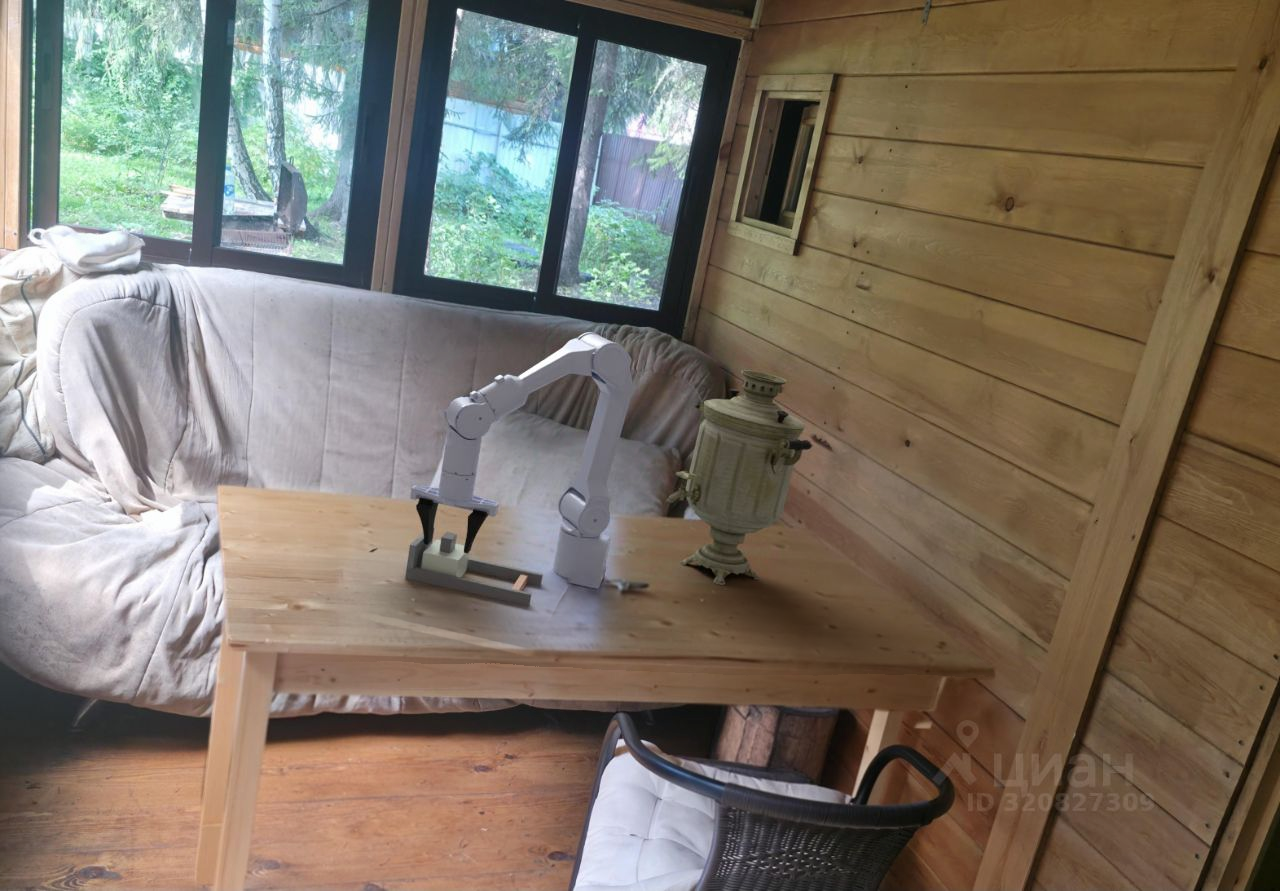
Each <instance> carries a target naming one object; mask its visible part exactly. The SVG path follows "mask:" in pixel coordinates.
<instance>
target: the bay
mask: <svg viewBox="0 0 1280 891" xmlns="http://www.w3.org/2000/svg"><path fill="white" fill-rule="evenodd" d="M434 534H435V529H434V530H433V537H432V541H431V542H430V543H429V544H428V545H426V544H424V533H423V532H422V533H421V534H420V535H419V536H417V537H416V538H415V539H414V540H413V541H412V542H411V543H410V544H409V549H408V556H407V562H406V570H405V576H404V579H406V580H410V581H416V582H420V583H425V584H430V585H433V586H437V587H442V588H446V589H451V590H456V591H460V592H465V593H468V594H473V595H479V596H482V597H487V598H493V599H497V600H502V601H505V602H510V603H515V604H519V605H523V606H528V607H529V606H530V605H531V600H532V599H531V598H532V593H533V592H528V591H524V590H523V589H524V588H525V586H526V585H527V584H530V585H535V586H538V587H541V585H542V583H543V582H542V581H543V576H544V573H541V572H536V571H531V570H528V569H527V570H526V569H523V568H522V569H521V568H517V567H513V566H508V565H503V564H499V563H495V562H490V561H486V560H481V559H477V558H472V557H468V563H467V570H466V571H470V572H475V573H479V574H485V575H488V576H489V575H490V576H494V577H497V578H501V579H507V580H512V581H515V583H514V585H513V586H512V587H511V588H510V587H506V586H502V585H496V584H493V583H487V582H483V581H479V580H475V579H470V578H466V577H457V576H452V575H448V574H443V573H438V572H434V571H429V570H425V569H421V566H422V559H423V552H424V551H425V550H426V549H427V548H428V547H429V546H430V545H431V544H432V543H433V542H434V541H433V539H434Z"/></svg>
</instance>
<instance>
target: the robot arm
mask: <svg viewBox="0 0 1280 891" xmlns="http://www.w3.org/2000/svg"><path fill="white" fill-rule="evenodd" d="M632 361H633V360H632V358H631V356H630V354H629V352H627V351H626V349H625V348H624V347H623V345H621V344H620V343H618V342H616V341H615V342H613V341H612V340H609V339H607V338H605V337H604V336H601V335H600V334H598V333H596V332H593V331H592V332H591V331H588V332H584V333H582V334H581V335H579V336H578V337H576V338H573V339H570V340H568V341H567V342H566V343H565V345H563V347H561V348H560V349H558V350H556V351H555V352H554V353H552V354H550V355H549V356H547V357H546V358H545V359H543V360H542V361H540V362H538V363H537V364H535V365H534V366H532V367H530V368H529V369H527V370H526V371H524V372H522V373H520V374H519V375H518V376H515V375H513V374H512V375H511V374H505V375H504V376H503V375H502V374H499V375H497V376H495V377H494V378H493V379H494V381H493V382H491V383H490V384H488V385H486V386H484V387H483V388H481V389H479V390H477V391H476V390H473V391H471V392H469V397H468V396H465V397H464V396H460V397H457V398H455V399H453V400H452V401H451V402H450V403H449V406H447V407H446V410H444V412H443V417H444V420H445V422H446V424H447V426H448V427H447V432H446V439H445V444H444V450H443V456H442V465H441V472H440V479H439V483H438V484H439V485H438V487H434V486H425V485H419V484H415V485H413V486H412V487H411V488H410V496H409V498H410V499H411V500H418V501H417V502H418V503H417V504H416V505H415V508H416V512H417V513H418V516H419V520H420V523H421V526H422V533H424V544H426V545H428V544H429V543H430V542H431V541H432V537H433V538H434V535H433V530H434V531H435V520H436V516H437V511H438V506H439V504H440V505H445V506H448V507H454V508H458V509H462V510H468V511H472V512H470V513H469V515H468V516H467V528H466V537H465V542H464V545H465V546H464V553H469V554H470V552H471V550H472V547H473V544H474V541H475V539H476V537H477V534H478V533H479V530H480V529H481V527H482V525H483V524H484V522H485V520H486V519H487V518H488V517H493V518H495V517H496V516H497V515H498V512H499V505H500V503H499V502H497V501H492V500H490V499H486V498H483V497H480V496H477V495H475V494H474V491H475V485H476V478H477V473H478V472H477V471H478V465H479V458H480V452H481V447H482V446H481V444H482V441H483V440H482V438H483V437H484V436H485V435H486V434H487V433H488V432H489V430H490V428H491V427H492V424H493V423H495V422H496V421H499V420H500V419H502V418H504V417H506V416H507V415H509V414H511V413H513V412H514V411H516V410H518V409H520V408H521V407H523V406H524V405H526V402H527V399H528V396H529V395H530V394H532V393H533V392H536V391H537V390H540V389H541V388H543V387H546V386H547V385H549V384H552V383H554V382H555V381H557V380H559V379H561V378H563V377H565V376H567V375H569V374H573V375H580V376H586V377H591V378H592V379H593V380H594V382H595V384H596V386H597V387H598V388H599V390H600V392H599V396H598V398H597V403H596V406H595V410H594V413H593V418H592V420H591V425H590V428H589V432H588V435H587V439H586V442H585V446H584V449H583V453H582V458H581V461H580V465H579V467H578V472H577V474H576V475H575V476H573V477H571V478H570V479H569V480H568V483H567V486H566V487H565V490H564V491H563V492H562V493H561V495H560V496H559V498H558V501H557V511H558V512H559V515H560V516H561V521H560V528H559V533H558V539H557V543H556V544H557V545H556V550H555V556H554V562H553V567H552V570H553V572H554V574H555V573H556V575H559V577H562V578H566V579H568V580H567V583H569V584H572V585H573V584H574V585H578V586H581V587H587V588H590V589H591V588H592V589H596V590H597V589H599V588H600V585H601V584H602V582H603V578H604V577H605V575H606V571H607V561H608V557H609V549H610V547H611V546H610V545H611V540H612V539H611V538H612V537H611V536H609V535H606V534H604V532H605V531H606V529H607V528H608V526H609V523H610V521H611V513H610V504H611V501H612V498H611V495H610V491H609V487H608V484H607V483H608V480H609V477H610V474H611V473H610V472H611V469H612V466H613V461H614V458H615V455H616V452H617V448H618V445H619V441H620V437H621V434H622V431H623V428H624V423H625V420H626V415H627V413H628V409H629V406H630V403H631V402H630V401H631V399H632V396H633V392H634V384H633V377H632V371H631V364H632Z"/></svg>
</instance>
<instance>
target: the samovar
mask: <svg viewBox="0 0 1280 891" xmlns="http://www.w3.org/2000/svg"><path fill="white" fill-rule="evenodd" d="M740 373H741V374H742V375H743V376H744V379H743V383H742V390H743V391H744V394H743V395H739V396H737V395H738V394H739V393H740V390H738V389H736V388H732V389H728V391H729V392H730V399H723V398H711V399H708V400H707V399H706V400H705V401H703V402H700V401H699V402H697V403H695V404H694V407H695V409H696V410H697V411H699V412H700V417H699V428H698V433H697V437H696V441H695V446H694V451H693V454H692V460H691V464H690V468H689V471H687V470H683V471H677V472H676V473H675V475H676V476H678V477H680V478H682V479H683V480H682V483H681V485H680V487H679V488H678V490H677V491H675V492H673V493H671V495H669V496H668V498H667V499H666V502H667V503H671V504H672V503H674V502H675V501H679V502H682V501H685V500H684V499H685V498H686V500H687V502H688V506H689V507H690V509H692V510H693V511H694V514H695V515H696V516H697V517H698V518H700V520H701V521H702V522H704V523H705V524H706V525H709V526H710V528H709V532H708V533H709V534H708V536H709V537H710V538H711V539H712V540H713V542H712V543H707V544H706V545H704V546H703V547H702V546H701V547H700V548H698V549H697V550H695V552H694V553H693V554H692V555H691V556H690V557H687V558H684V559H683V560H681V562H680V563H681V564H682V565H683V566H685V565H687V564H692V563H693V562H695V561H697V564H698V565H699V566H701V565H702V566H703V567H704V568H706V569H711V570H712V573H713V574H714V576H715V578H714V579H713V582H714V583H715V584H717V585H725V584H726V581H725V578H727V576H728V575H730V574H731V573H733V574H735V575H739V574H744V572H745V573H746V574H748V575H749V576H752V578H753V580H757V579H758V578H759V575H758V574H757V573H756V572H755V571H754V570H752V568H751V566H750V564H749V559H747V557H746V556H745V555H744V553H743V552H742V551H741V550H740V549H738V545H741V544H744V542H745V539H746V534H752V533H753V534H755V533H757V532H759V531H761V530H763V529H766V528H769V527H771V526H772V525H773V524H775V523H776V522H777V521H778V520H779V519H780V518H781V516H782V514H783V511H784V507H785V503H786V500H787V497H788V492H789V488H790V484H791V479H792V476H793V471H794V468H795V464H796V463H797V462H798V461H799V460H801V458H802V453H803V451H804V450H806V451H808V450H810V449H812V448H813V446H814V445H813V444H812V442H811V440H810V441H809V440H808V439H806V440H805V439H804V440H801V439H799V438H800V436H801V435H802V434H803V432H804V429H805V428H806V424H805V423H804V422H803V421H802V420H800V419H798V418H797V417H795V416H792V415H791V414H789V413H788V412H786V411H784V410H783V409H782V408H781V407H780V406H779V405H778V404H776V403H774V402H773V400H774V399H775V398H776V397H778V396H779V393H780V392H779V391H780V388H781V386H782V385H785V384H787V382H788V381H787V380H786V379H785V378H782V377H780V376H777V375H773V374H769V373H766V372H761V371H756V370H751V369H750V370H748V369H744V370H741V371H740Z"/></svg>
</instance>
